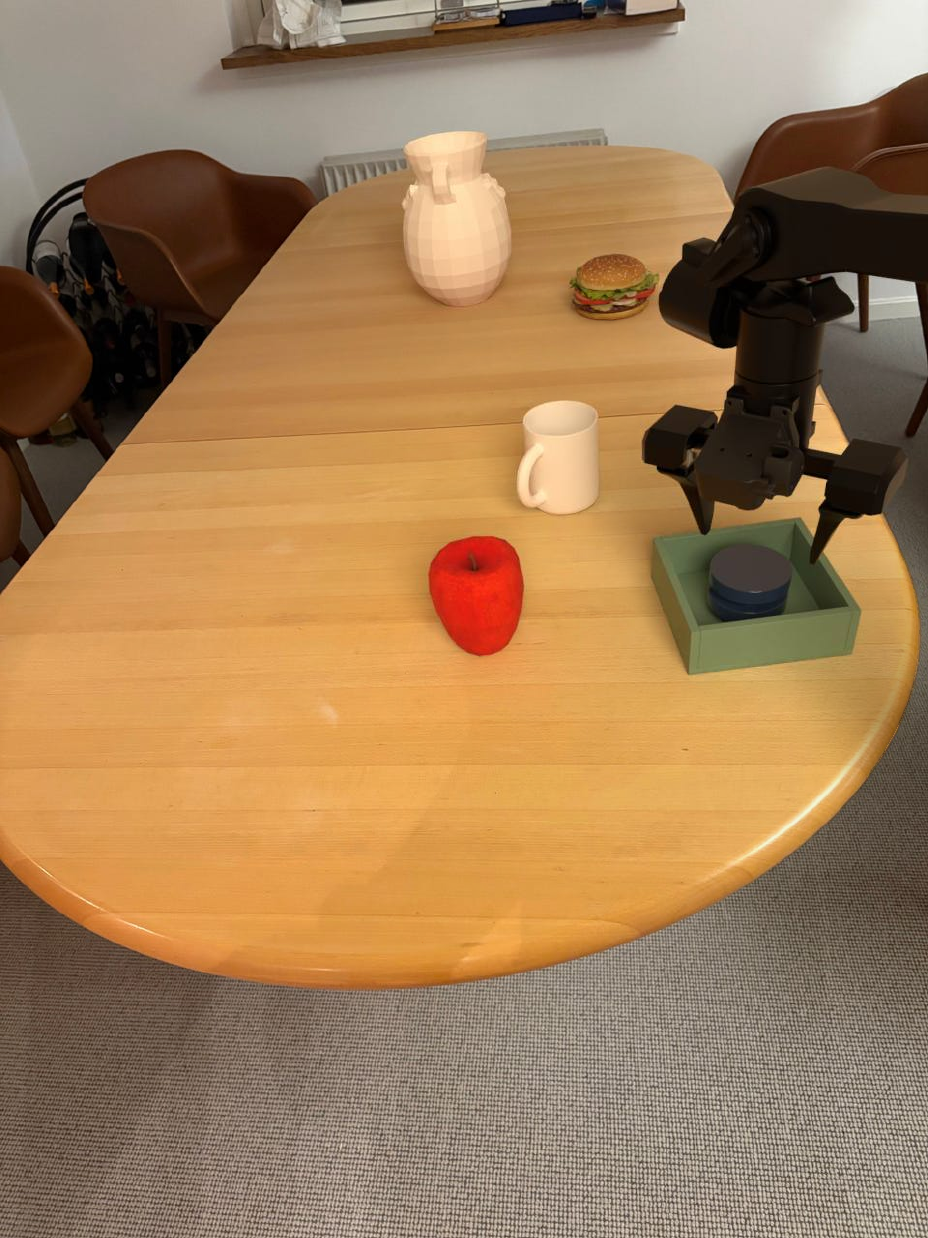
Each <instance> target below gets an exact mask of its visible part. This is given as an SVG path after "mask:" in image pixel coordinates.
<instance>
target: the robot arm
mask: <svg viewBox="0 0 928 1238" xmlns="http://www.w3.org/2000/svg"><path fill="white" fill-rule="evenodd" d="M839 273H850V274H857V275H863V276H871V277H875V278H876V277H877V278H883V279H888V280H889V279H890V280H897V281H903V282H909V283H914V284H915V283H916V284H923V285H928V195H920V194H904V193H903V194H901V193H893V192H890V191H888V190H883V189H881V188H879V187H878V186H877V185H876V183H874V182H873V181H872V180H871V178H869V176H865V175H862V174H859V173H854V172H852V171H848V170H845V169H841V168H838V167H834V166H830V165H829V166H828V165H827V166H823V167H818V168H815V169H811V170H807V171H804V172H800V173H798V174H794V175H790V176H787V177H783V178H780V179H776V180H773V181H770V182H766V183H763V184H758V185H755V186H752V187H749V188H745V189H744V190H743V191H741V192H740V193H739V194H738V198H737V201H736V202H735V204H734V206H733V210H732V211H731V215H730V218H729V220H728V221H727V223H726V224H725V226H724V228H723V229H722V232H721V233H720V235H719V237H718V238H716V241H715V240H714V239H711V238H708V237H705V236H703V237H700V238H696V239H693V240H690V241H687V242H684V243H682V245H681V259H680V260H678V262H677V263H675V265H674V266H673V267H672V268H671V269H670V271H669V272H668V274H667V275H666V277H665V280H664V281H663V283H662V284H663V285H662V286H661V287H662V288H661V290H660V292H659V293H658V302H657V303H658V310H659V313H660V316H661V318H662V320H663V321H664V322H665V323H666V324H667V325H668V326H669V327H672V328H674V329H676V330H678V331H680V332H682V333H684V334H686V335H688V336H691V337H693V338H695V339H697V340H700V341H702V342H704V343H706V344H708V345H710V346H713V347H715V348H717V349H720V350H726V349H732V348H735V347H736V348H735V360H734V361H735V362H734V372H733V373H734V375H733V384H732V386H730V387H729V388H728V389H727V390H726V392H725V393H726V394H725V399H724V401H723V410H722V413H721V415H720V418H719V416H718V415H717V414H716V412H714V411H712V410H706V409H702V408H696V407H692V406H685V405H680V404H674V405H673V406H672V407H671V408H669V409H668V410H667V411H666V412H664V413H663V415H661V416H660V417H659V418H658V419H657V420H655V422H654V423H653V424H652V425H650V426H649V427H648V428H647V429H646V430H645V431H644V434H643V436H642V439H641V460H642V462H643V463H644V464H645V465H649V466H653V467H655V468H656V471H657V472H658V474H661V475H664V476H667V477H669V478H671V479H672V480H674V481H676V482H677V483H678V484H679V486H680V488H681V489H682V491H683V493H684V496H685V497H686V500H687V502H688V505H689V508H690V510H691V512H692V515H693V518H694V520H695V522H696V523H695V524H696V525H697V528H698V531H700V533H701V534H702V535H707V534H708V532H709V531H710V529H712V524H713V519H714V515H715V506H716V505H715V504H716V503H720V504H725V505H728V506H733V507H735V508H737V509H738V510H742V511H747V512H749V511H755V510H758V509H759V508H760V507H762V505H763V504H764V503H765V501H766V500H770V501H772V500H773V499H774V498H775V497H776V496H780V497H784V498H789V497H791V496H793V493H794V492H795V490H796V488H797V486H798V484H799V482H800V481H801V478H802V477H803V476H807V477H811V478H816V479H819V480H826V481H825V487H824V493H823V496H824V500H823V501H822V502H821V503H820V505H819V506H818V508H817V510H818V514H819V518H818V522H817V525H816V528H815V532H814V535H813V537H814V539H813V543H812V546H811V550H810V561H809V563H810V564H812V565H815V564H816V562H817V561H818V559H819V558H820V556H821V554H822V553H823V552H824V551H825V550H826V547H827V546H828V544H829V543H830V541H831V539H832V538H833V536H834V535H835V533H836V531H837V530H838V528H839V526H840V525H841V523H842V522H843V521H844V520H845V519H850V520H859V519H861V518H863V517H864V515H865V516H869V517H873V516H878V515H882V514H883V513H884V511H885V509H886V508H887V507H888V505H889V503H890V502H891V500H892V499H893V497H894V496H895V495H896V493H897V491H898V490H899V488H900V487H901V485H902V484H903V482H904V481H905V477H906V473H907V468H908V463H909V458H908V456H907V454H906V453H905V451H904V449H903V447H901V446H896V445H892V444H886V443H882V442H875V441H869V440H865V439H859V438H852V440H851V441H850V442H849V444H848V445H847V446H846V447H845V449H844V450H843V451H842V452H841V453H840V454H839V453H834V452H829V451H825V450H820V449H814V448H811V447H810V439H811V438H812V437H813V436H814V435H815V433H816V432H815V431H816V425H817V421H816V420H815V421H814V420H813V418H814V410H815V404H816V403H815V402H816V395H817V390H818V387H819V386H820V385H821V384H822V383H823V375H824V369H820V365H821V358H822V351H823V344H824V337H825V328H826V324H827V323H829V322H833V321H835V320H838V319H841V318H844V317H847V316H850V315H852V314H853V313H854V312H855V310H856V306H855V304H854V301H852V299H851V298H850V295H848V294H847V293H846V292H845V291H843V289H841V288H840V287H839V285H838V283H837V281H836V278H835V276H833V275H829V276H826V277H823V278H820V279H817V280H814V281H809V280H806V278H807V279H808V278H812V277H817V276H818V277H819V276H823V275H828V274H839ZM809 447H810V448H809Z"/></svg>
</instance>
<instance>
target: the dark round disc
mask: <svg viewBox="0 0 928 1238" xmlns="http://www.w3.org/2000/svg"><path fill="white" fill-rule="evenodd" d="M787 599H788V591H787V593H786V594H785V595H784V596H782V597H781V598H779V599H778V600H775V601H773V602H770V603H765V604H758V605H746V604H741V603H736V602H733V601H730V600H728V599H725V598H724V597H722V596H720V595H719V594H718V593H716V592H715V591H714V589H713V588H712V586H711V585H710V582H709V583H708V591H707V603H708V605H709V607H710V609H711V610H712V611H713V612H714V613H715V614H716V615H717V616H719V617H720V618H722V619H724V620H726V621H729V622H733V621H741V620H748V619H756V618H764V617H771V616H779V615H782V614H783V612H784V611H785V609H786V605H787Z"/></svg>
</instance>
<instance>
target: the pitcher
mask: <svg viewBox="0 0 928 1238" xmlns="http://www.w3.org/2000/svg"><path fill="white" fill-rule="evenodd" d="M488 138H489V137H488V135H486V134H485V133H484V132H480V131H448V132H441V133H434V134H429V135H426V136H423V137H419V138H417V139H414V140H411V141H408V143H407V144H406V145H404V147H403V149H402V150H403V153H404V157H405V160H406V162H407V165H408V166H409V168H410V169H411V171H412V172H413V174H414V175H415V176H414V177H416V178H415V180H414V181H415V182H414V184H409V186H408V188H407V190H406V193H405V197H404V198H403V200H402V202H401V206H402V209H403V210H404V216H403V224H402V226H403V227H402V233H403V236H402V237H403V249H404V255H405V260H406V261H405V262H406V265H407V267H408V269H409V272H410V273H411V275H412V277H413V280H414V281H415V282H416V283H417V284H418V285H419V286H420V287H421V288H422V289H423V290H424V291H425V292H426V293H427V294H428V295H429V296H431V297H432V298H434V299H436V300H437V301H439V302H440V303H442V304H443V305H446V306H450V307H470V306H475V305H478V304H481V303H483V302H486V301H487V300H488V299H490V298H491V297H492V295H493V294H494V292H495V291H496V289H497V288H498V287H499V284H500V283H501V281H502V280H503V278H504V276H505V273H506V271H507V269H508V267H509V263H510V260H511V259H510V258H511V254H512V250H513V249H512V248H513V247H512V246H513V243H512V237H513V236H512V235H513V233H512V231H513V230H512V226H511V222H510V217H509V214H508V209H507V205H506V200H505V198H506V195H507V193H506V191H505V189H504V187H502V186H500V185H499V183H498V181H497V178H495V177H492V176H491V175H490V173H489V172H485V173H482V166H483V163H484V159H485V155H486V152H487V147H488Z"/></svg>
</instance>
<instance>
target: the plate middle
mask: <svg viewBox="0 0 928 1238" xmlns="http://www.w3.org/2000/svg"><path fill="white" fill-rule="evenodd" d="M791 578H792V566H791V564H790V562H789V560H788V559H787V558H786V557H785V556H784V555H782V554H781V553H779V552H778V551H776V550H774V549H771V548H768V547H765V546H760V545H750V544H745V545H736V546H731V547H728V548H725V549H723V550H721V551H720V552H718V553H717V554H716V555H715V556H714V557H713V559H712V560H711V563H710V572H709V582H710V585H711V586H712V588H713V589H714V591H715V592H716V593H718V594H719V595H720V596H722V597H724V598H725V599H728V600H730V601H733V602H736V603H741V604H746V605H758V604H765V603H770V602H773V601H775V600H778V599H779V598H781V597H782V596H784V595H785V594H786V593H787V591H788V590H789V588H790V584H791Z"/></svg>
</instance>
